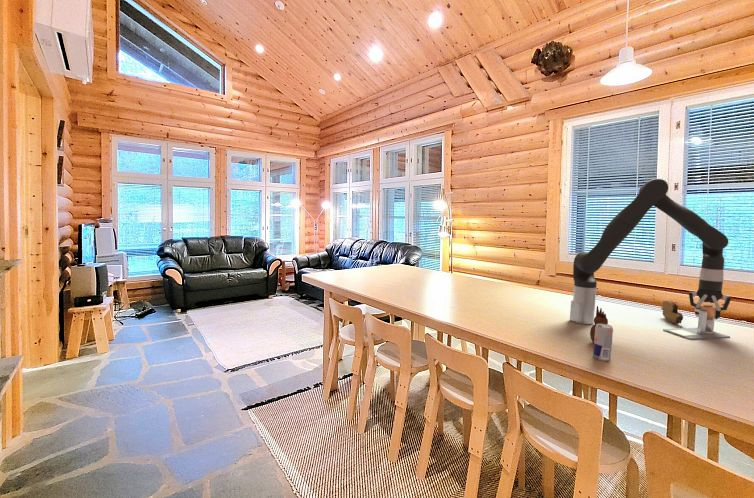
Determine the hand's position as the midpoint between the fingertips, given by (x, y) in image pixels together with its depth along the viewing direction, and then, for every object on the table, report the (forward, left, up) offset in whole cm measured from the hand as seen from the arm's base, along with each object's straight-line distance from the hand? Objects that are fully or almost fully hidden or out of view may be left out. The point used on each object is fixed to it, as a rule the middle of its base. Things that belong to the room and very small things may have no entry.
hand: (706, 317), depth 160 cm
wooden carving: (+2, +17, -8) cm, 19 cm away
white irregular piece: (0, 0, -7) cm, 7 cm away
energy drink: (-67, -19, -7) cm, 70 cm away
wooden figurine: (-57, -6, -7) cm, 58 cm away
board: (-5, 0, -7) cm, 9 cm away
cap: (0, 0, 0) cm, 0 cm away
